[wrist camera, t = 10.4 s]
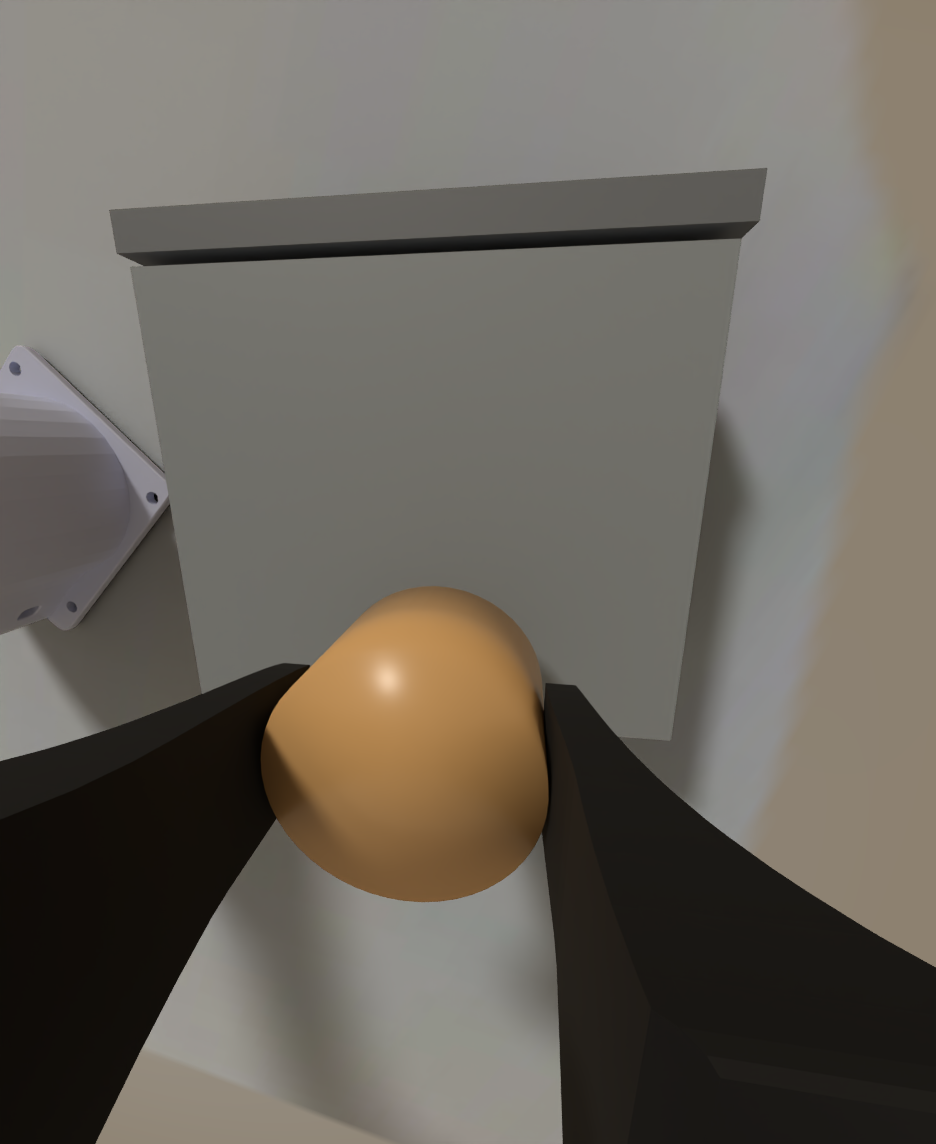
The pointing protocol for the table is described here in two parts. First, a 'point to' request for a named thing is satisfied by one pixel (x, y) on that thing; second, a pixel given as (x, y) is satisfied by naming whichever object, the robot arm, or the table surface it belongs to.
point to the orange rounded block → (414, 749)
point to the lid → (445, 413)
